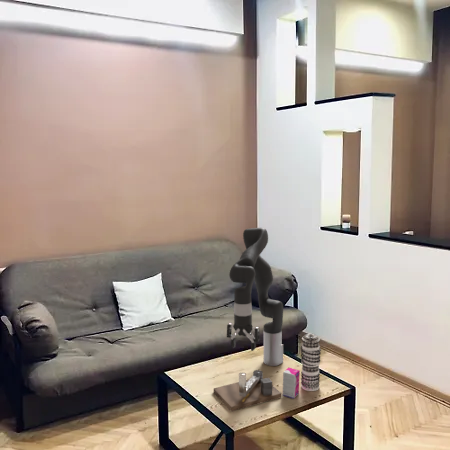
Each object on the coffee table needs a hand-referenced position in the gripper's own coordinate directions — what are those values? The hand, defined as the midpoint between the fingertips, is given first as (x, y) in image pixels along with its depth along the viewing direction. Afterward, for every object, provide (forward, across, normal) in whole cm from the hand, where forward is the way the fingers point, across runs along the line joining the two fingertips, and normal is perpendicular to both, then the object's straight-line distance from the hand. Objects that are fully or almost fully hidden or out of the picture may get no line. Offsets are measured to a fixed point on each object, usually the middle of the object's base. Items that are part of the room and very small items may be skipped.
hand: (243, 348), depth 211 cm
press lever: (+23, 0, -9) cm, 25 cm away
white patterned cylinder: (+26, -23, -26) cm, 43 cm away
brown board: (+26, +2, -8) cm, 27 cm away
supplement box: (+26, -16, -16) cm, 35 cm away
